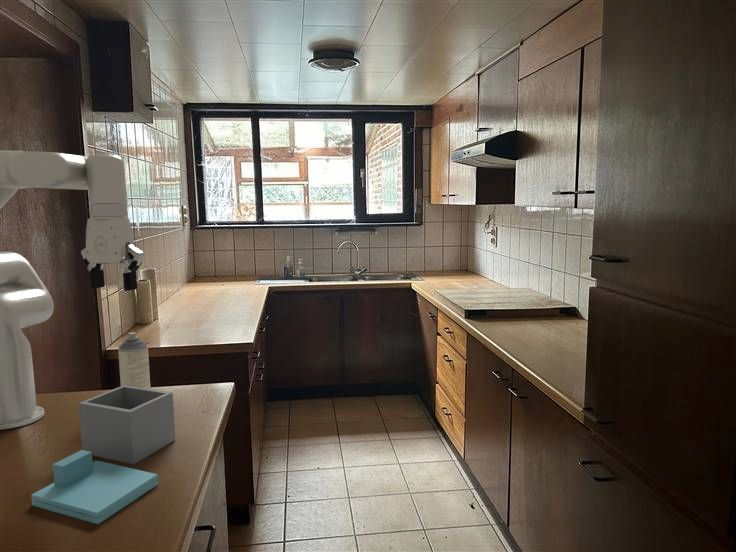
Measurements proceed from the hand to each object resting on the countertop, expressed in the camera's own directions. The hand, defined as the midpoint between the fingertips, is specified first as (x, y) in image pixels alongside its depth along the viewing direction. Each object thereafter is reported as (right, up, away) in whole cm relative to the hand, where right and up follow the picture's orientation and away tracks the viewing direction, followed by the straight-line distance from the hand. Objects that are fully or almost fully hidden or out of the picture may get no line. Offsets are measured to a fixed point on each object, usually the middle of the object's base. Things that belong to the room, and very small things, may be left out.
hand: (114, 288), depth 119 cm
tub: (+5, -34, -4) cm, 35 cm away
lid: (+8, -37, -23) cm, 44 cm away
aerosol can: (-2, -32, +17) cm, 36 cm away
